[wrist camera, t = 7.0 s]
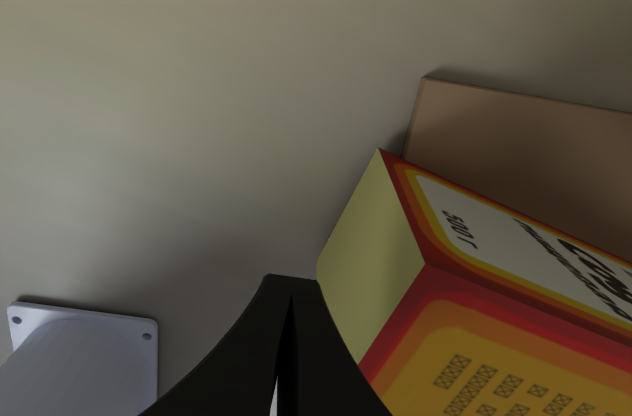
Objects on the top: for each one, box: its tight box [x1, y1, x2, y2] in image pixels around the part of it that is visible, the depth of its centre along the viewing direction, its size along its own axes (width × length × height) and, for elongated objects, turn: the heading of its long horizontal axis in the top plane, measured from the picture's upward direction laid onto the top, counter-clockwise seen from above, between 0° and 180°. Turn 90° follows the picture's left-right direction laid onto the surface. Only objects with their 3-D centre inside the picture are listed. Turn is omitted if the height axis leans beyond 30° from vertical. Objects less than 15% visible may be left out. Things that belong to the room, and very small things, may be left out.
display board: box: [401, 77, 632, 262], centre depth 21 cm, size 10×14×1 cm
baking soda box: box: [316, 148, 632, 416], centre depth 18 cm, size 10×6×16 cm
